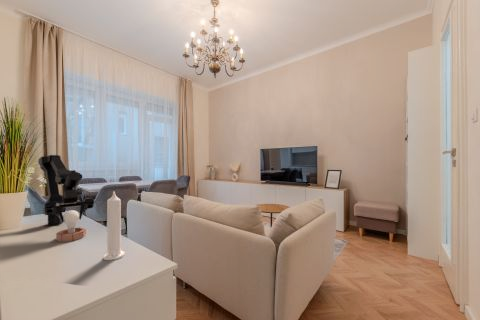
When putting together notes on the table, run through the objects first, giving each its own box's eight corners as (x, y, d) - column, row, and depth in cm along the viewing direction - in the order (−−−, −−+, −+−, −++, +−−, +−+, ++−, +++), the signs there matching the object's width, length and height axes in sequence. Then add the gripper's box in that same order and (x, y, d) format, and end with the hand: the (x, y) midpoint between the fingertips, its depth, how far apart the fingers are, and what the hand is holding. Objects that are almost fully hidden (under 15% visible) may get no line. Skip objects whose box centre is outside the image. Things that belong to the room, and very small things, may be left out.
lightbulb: (83, 231, 107) (83, 209, 106) (71, 236, 100) (71, 212, 100) (71, 231, 107) (70, 208, 107) (59, 235, 101) (59, 211, 101)
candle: (115, 261, 81) (115, 193, 80) (98, 259, 82) (98, 192, 81) (128, 253, 87) (128, 190, 87) (113, 251, 89) (113, 189, 88)
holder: (63, 235, 107) (63, 228, 107) (88, 232, 110) (88, 226, 110) (52, 243, 97) (52, 236, 97) (80, 240, 100) (80, 233, 100)
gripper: (44, 184, 100) (44, 214, 92) (93, 181, 112) (97, 207, 104) (44, 199, 106) (44, 228, 98) (91, 195, 118) (94, 220, 110)
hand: (71, 220), depth 103 cm, fingers closed on lightbulb, 6 cm apart
